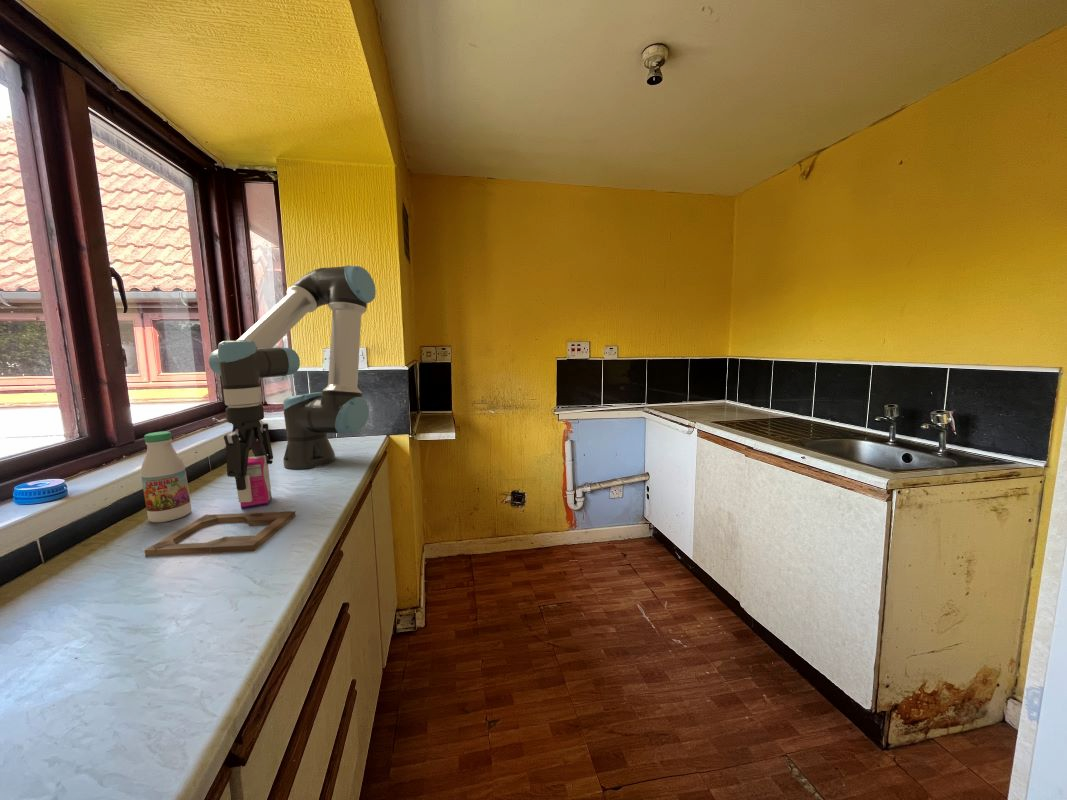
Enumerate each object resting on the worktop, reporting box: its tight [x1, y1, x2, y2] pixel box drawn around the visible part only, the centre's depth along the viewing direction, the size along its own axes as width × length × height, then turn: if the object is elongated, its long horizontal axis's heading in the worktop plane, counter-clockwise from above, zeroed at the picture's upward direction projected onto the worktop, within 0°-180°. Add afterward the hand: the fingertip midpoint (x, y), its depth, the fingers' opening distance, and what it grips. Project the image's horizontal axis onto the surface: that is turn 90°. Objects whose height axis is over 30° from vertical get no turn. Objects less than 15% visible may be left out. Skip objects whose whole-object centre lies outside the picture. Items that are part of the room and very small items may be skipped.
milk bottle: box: [140, 431, 192, 523], centre depth 96 cm, size 8×8×20 cm
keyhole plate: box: [144, 510, 297, 557], centre depth 88 cm, size 16×20×1 cm
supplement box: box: [239, 455, 273, 510], centre depth 103 cm, size 6×6×12 cm
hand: (255, 495), depth 104 cm, fingers closed on supplement box, 7 cm apart
